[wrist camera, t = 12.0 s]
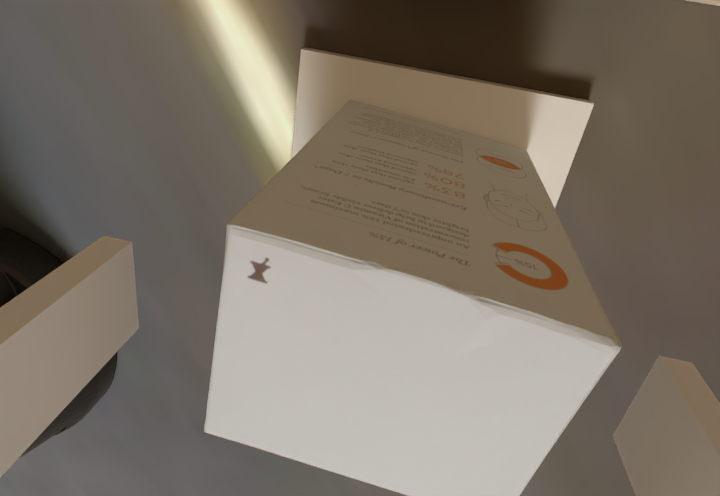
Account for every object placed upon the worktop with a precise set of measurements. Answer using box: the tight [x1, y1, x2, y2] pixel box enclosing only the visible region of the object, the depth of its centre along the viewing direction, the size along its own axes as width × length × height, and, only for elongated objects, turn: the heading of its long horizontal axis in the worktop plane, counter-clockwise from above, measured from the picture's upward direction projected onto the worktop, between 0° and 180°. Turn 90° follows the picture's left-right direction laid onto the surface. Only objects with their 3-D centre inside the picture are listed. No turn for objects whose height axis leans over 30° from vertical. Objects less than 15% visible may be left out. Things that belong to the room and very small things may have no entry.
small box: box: [204, 100, 621, 496], centre depth 16 cm, size 8×6×13 cm
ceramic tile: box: [291, 47, 594, 208], centre depth 22 cm, size 12×10×1 cm
